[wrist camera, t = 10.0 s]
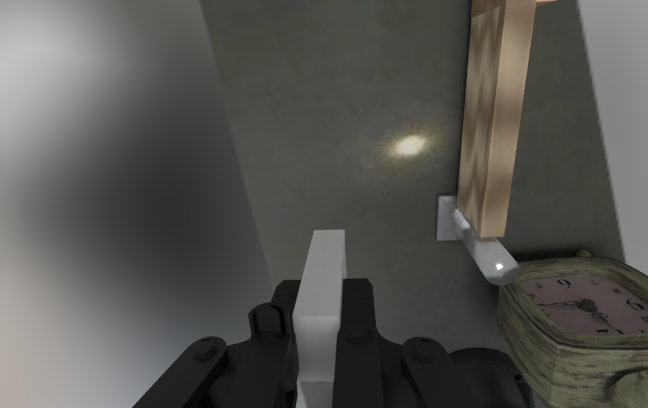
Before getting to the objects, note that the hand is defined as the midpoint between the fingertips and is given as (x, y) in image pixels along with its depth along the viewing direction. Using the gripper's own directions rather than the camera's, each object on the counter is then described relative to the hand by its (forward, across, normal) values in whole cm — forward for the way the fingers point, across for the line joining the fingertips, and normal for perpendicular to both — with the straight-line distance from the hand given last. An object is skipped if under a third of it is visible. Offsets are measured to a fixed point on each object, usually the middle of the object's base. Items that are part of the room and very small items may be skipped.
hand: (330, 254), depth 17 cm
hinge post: (+26, -14, +9) cm, 31 cm away
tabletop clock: (+27, -24, +18) cm, 40 cm away
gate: (+24, -14, -4) cm, 29 cm away
